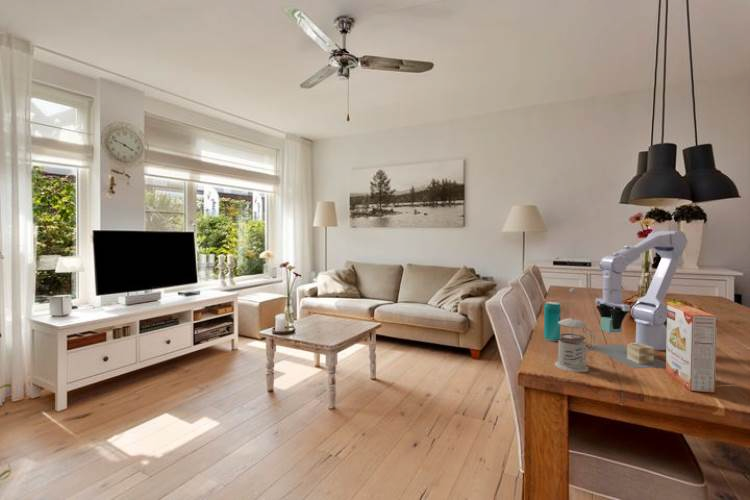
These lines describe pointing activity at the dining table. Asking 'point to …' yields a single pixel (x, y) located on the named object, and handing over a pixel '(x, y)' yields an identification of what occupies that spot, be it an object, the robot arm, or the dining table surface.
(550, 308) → the beverage can
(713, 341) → the cracker box
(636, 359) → the tower lower
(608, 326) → the teal block
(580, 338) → the french press
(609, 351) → the slate mat
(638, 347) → the tower upper
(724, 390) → the dining table surface
